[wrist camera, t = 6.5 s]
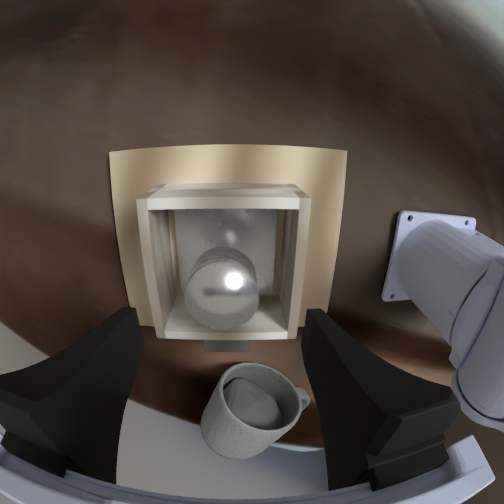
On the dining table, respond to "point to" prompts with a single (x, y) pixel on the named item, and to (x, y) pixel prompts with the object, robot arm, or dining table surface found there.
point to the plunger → (225, 262)
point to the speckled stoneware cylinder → (250, 410)
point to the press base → (228, 197)
